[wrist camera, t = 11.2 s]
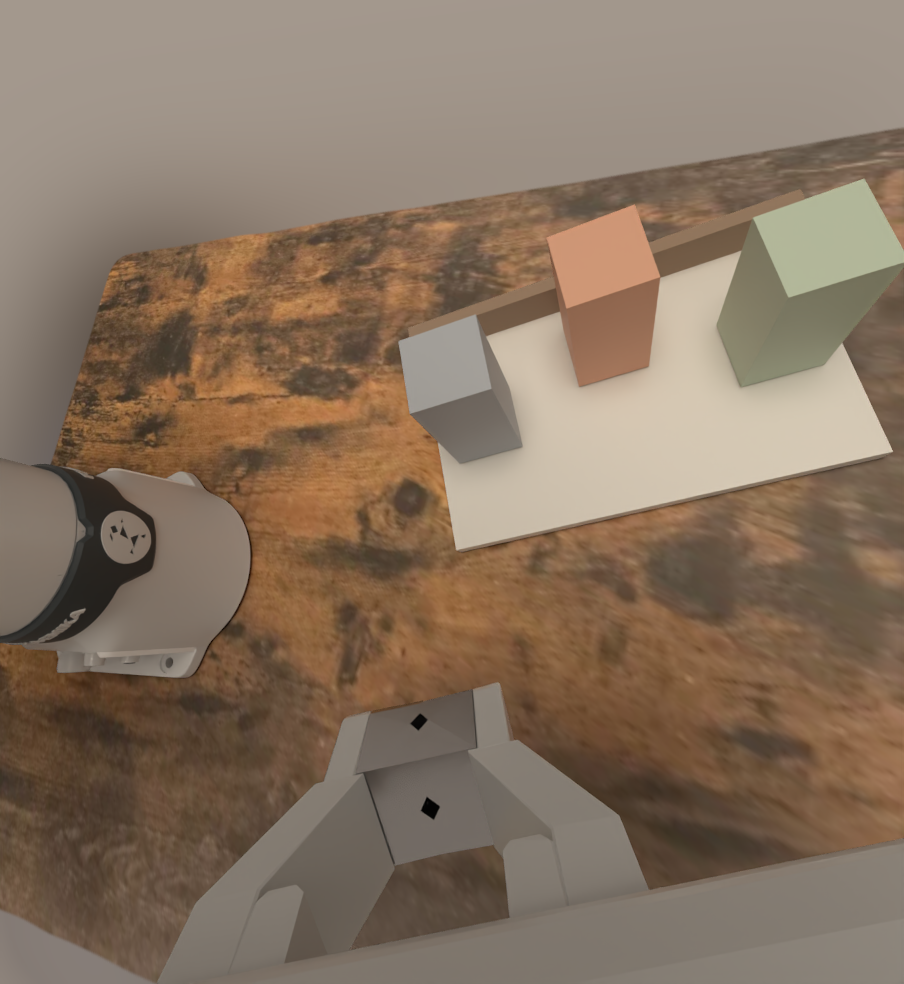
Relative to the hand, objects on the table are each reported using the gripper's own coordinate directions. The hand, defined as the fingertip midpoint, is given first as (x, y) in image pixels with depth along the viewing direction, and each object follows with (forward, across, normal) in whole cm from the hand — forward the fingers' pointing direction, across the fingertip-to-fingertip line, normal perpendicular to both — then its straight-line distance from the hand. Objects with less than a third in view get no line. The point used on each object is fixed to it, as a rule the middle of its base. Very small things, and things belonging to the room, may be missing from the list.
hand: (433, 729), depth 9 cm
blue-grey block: (+30, -4, -2) cm, 31 cm away
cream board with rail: (+30, -14, -3) cm, 33 cm away
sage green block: (+26, -23, -4) cm, 35 cm away
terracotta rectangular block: (+30, -14, -6) cm, 33 cm away
